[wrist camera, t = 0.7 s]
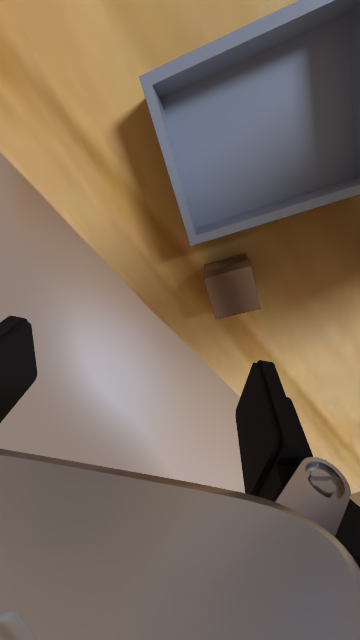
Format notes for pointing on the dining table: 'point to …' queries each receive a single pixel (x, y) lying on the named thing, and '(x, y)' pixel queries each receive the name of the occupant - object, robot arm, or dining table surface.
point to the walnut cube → (231, 286)
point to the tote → (262, 119)
